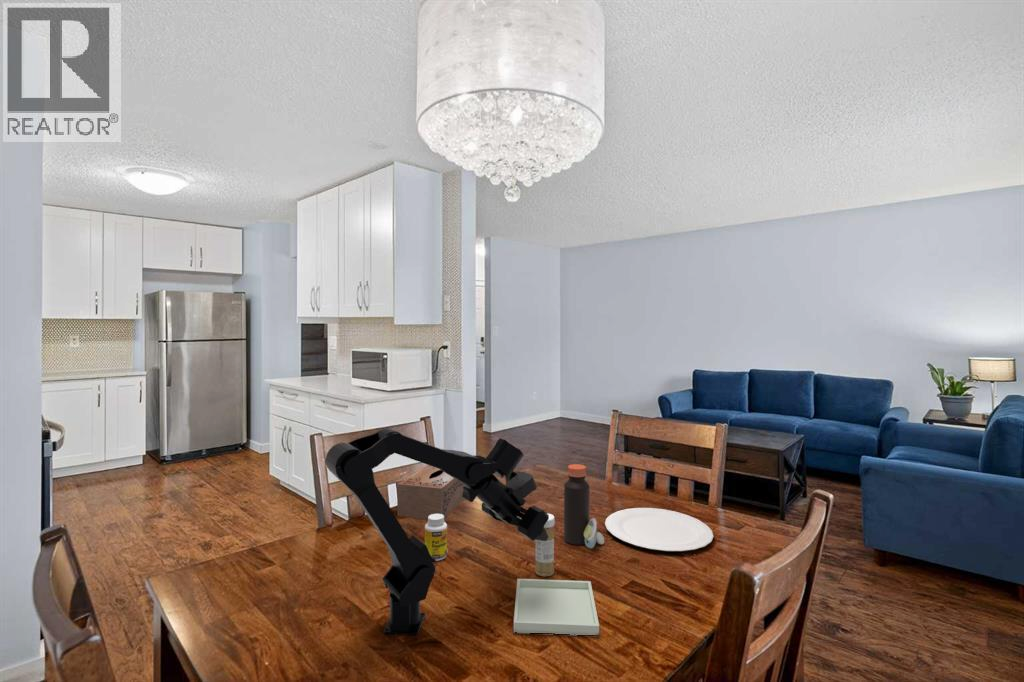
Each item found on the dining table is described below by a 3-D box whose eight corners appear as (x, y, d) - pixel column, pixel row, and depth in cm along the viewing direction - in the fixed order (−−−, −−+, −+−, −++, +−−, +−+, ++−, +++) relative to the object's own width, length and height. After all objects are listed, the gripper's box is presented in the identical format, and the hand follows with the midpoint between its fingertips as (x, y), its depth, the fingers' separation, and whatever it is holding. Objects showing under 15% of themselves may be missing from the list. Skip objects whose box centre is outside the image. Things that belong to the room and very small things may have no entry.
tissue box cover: (441, 521, 145) (441, 488, 145) (397, 516, 149) (397, 484, 148) (471, 493, 170) (471, 464, 170) (432, 489, 174) (432, 461, 173)
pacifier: (593, 538, 124) (580, 547, 127) (614, 547, 125) (600, 556, 129) (594, 512, 129) (581, 522, 133) (614, 521, 131) (601, 530, 134)
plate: (738, 546, 130) (738, 539, 130) (646, 565, 119) (647, 558, 119) (665, 508, 157) (665, 502, 157) (585, 521, 146) (585, 514, 146)
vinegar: (570, 532, 137) (571, 461, 137) (593, 538, 134) (593, 465, 133) (559, 541, 132) (559, 467, 131) (582, 547, 128) (583, 471, 127)
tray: (599, 636, 92) (599, 625, 91) (513, 632, 92) (513, 622, 92) (590, 590, 108) (590, 581, 107) (517, 587, 108) (517, 578, 108)
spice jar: (552, 567, 117) (553, 512, 117) (555, 577, 113) (556, 519, 112) (533, 568, 117) (534, 512, 117) (535, 577, 113) (536, 520, 112)
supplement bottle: (430, 564, 119) (430, 522, 118) (421, 555, 123) (421, 515, 123) (450, 558, 122) (451, 517, 121) (441, 549, 126) (441, 510, 126)
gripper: (541, 474, 102) (580, 514, 108) (492, 454, 117) (528, 491, 124) (510, 520, 97) (553, 559, 104) (463, 493, 112) (503, 529, 119)
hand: (534, 531), depth 113 cm, fingers open, 9 cm apart
